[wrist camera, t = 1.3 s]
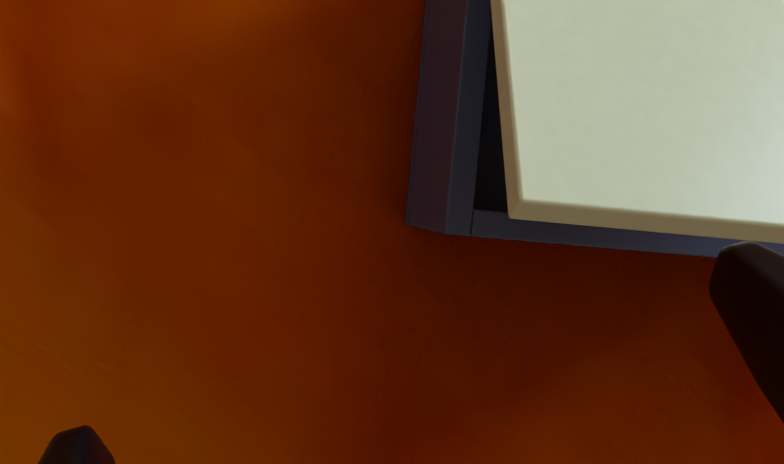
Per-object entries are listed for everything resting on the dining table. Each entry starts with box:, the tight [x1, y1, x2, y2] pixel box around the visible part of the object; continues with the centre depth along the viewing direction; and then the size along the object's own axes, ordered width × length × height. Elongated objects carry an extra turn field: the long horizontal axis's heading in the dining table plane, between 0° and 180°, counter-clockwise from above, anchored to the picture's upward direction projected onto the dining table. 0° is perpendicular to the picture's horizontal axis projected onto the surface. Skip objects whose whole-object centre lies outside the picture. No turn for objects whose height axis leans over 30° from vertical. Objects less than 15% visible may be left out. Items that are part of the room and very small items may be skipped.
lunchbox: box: [405, 0, 784, 258], centre depth 21 cm, size 9×14×6 cm, turn 84°
